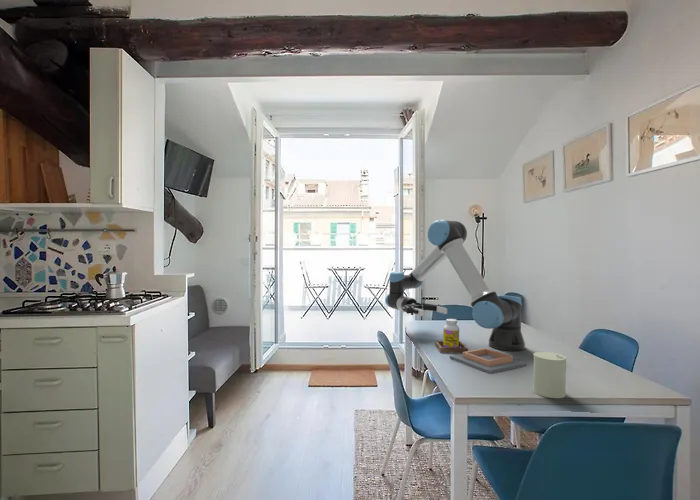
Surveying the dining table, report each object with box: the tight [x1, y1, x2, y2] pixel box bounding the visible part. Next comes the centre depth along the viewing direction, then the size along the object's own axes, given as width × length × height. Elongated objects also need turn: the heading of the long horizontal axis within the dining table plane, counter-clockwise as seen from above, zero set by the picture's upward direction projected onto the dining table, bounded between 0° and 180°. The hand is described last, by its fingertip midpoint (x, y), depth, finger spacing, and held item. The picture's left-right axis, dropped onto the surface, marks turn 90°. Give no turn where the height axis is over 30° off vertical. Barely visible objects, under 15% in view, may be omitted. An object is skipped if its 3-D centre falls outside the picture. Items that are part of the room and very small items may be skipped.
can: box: [532, 351, 567, 399], centre depth 120 cm, size 9×9×12 cm
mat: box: [449, 353, 527, 374], centre depth 150 cm, size 20×20×1 cm
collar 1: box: [434, 340, 469, 354], centre depth 168 cm, size 12×12×2 cm
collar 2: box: [462, 347, 514, 366], centre depth 150 cm, size 13×13×2 cm
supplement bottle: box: [442, 318, 460, 348], centre depth 168 cm, size 7×7×13 cm
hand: (435, 312), depth 177 cm, fingers open, 13 cm apart
